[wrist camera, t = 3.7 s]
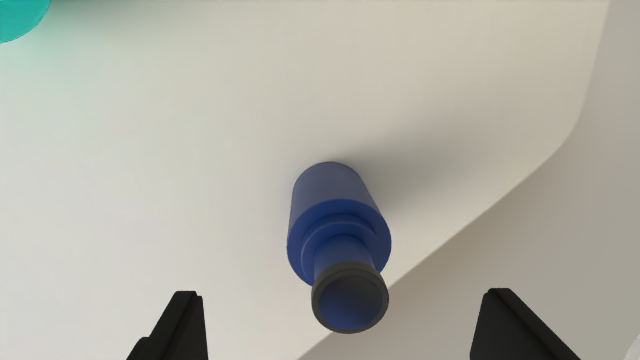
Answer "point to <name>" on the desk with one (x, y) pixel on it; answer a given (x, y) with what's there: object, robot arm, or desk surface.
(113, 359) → the desk surface
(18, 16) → the pair of turquoise discs
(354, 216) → the bottle
